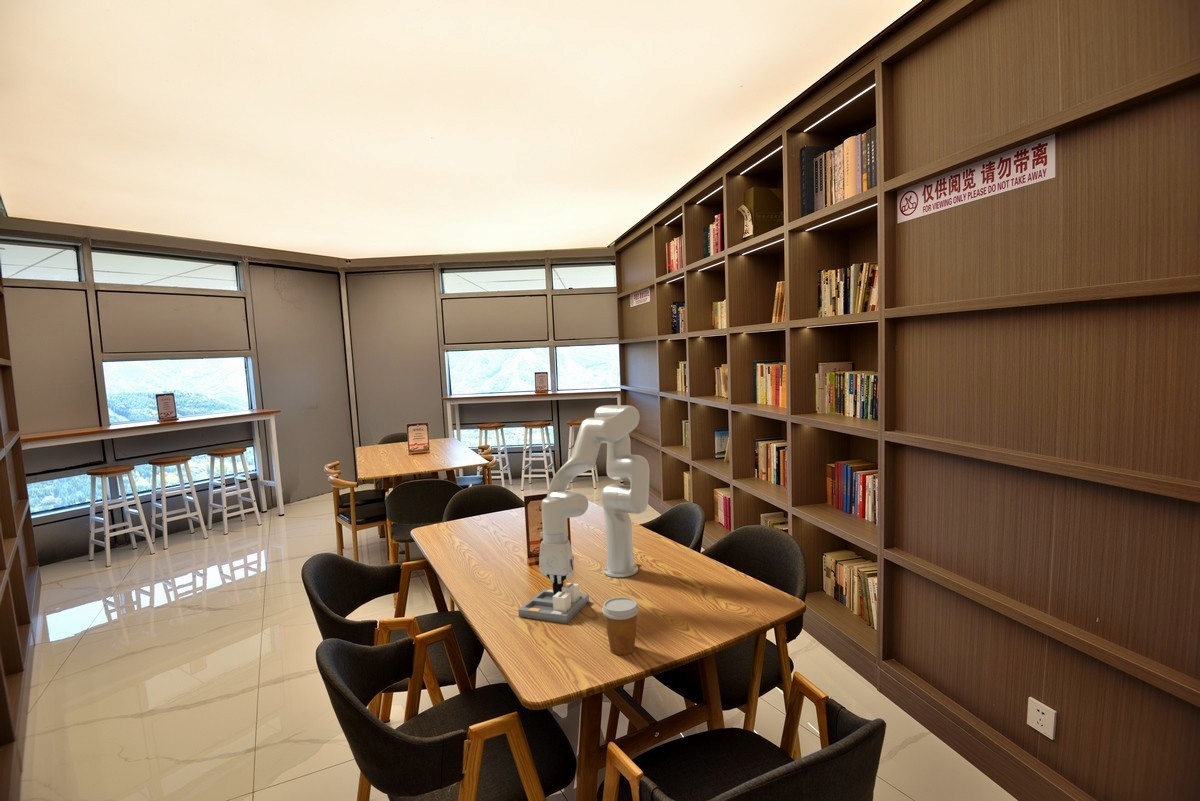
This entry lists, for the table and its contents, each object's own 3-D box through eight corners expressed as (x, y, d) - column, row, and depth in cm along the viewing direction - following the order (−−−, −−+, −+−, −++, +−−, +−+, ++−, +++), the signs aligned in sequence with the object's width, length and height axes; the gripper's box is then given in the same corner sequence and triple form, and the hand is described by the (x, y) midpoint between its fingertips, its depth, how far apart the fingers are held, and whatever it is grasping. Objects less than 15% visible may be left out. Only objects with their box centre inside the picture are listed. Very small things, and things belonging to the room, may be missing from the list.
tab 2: (568, 598, 173) (567, 581, 173) (579, 599, 172) (578, 583, 172) (562, 603, 170) (561, 586, 169) (574, 605, 168) (573, 588, 168)
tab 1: (559, 607, 167) (558, 590, 166) (571, 609, 165) (570, 591, 165) (553, 613, 163) (552, 595, 163) (565, 614, 161) (564, 597, 161)
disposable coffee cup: (646, 644, 144) (644, 600, 143) (630, 662, 136) (627, 614, 135) (615, 637, 149) (613, 594, 148) (597, 653, 141) (594, 607, 140)
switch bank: (544, 595, 180) (543, 588, 179) (589, 601, 173) (588, 593, 173) (518, 616, 165) (518, 608, 165) (566, 623, 159) (566, 615, 159)
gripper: (528, 538, 171) (531, 596, 172) (571, 542, 165) (574, 602, 166) (540, 531, 178) (543, 587, 179) (582, 535, 172) (585, 592, 173)
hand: (558, 594), depth 172 cm, fingers closed
